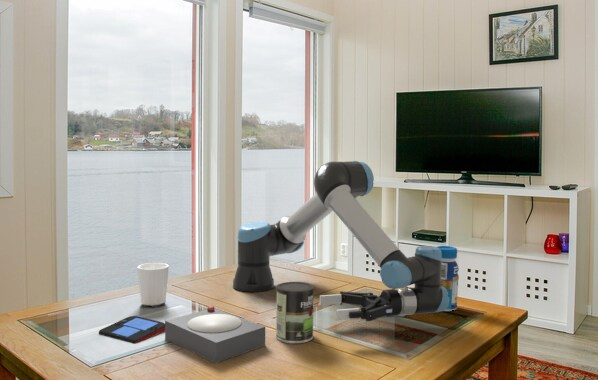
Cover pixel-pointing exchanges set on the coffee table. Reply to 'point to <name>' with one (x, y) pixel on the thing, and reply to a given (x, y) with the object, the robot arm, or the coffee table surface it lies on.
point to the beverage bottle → (449, 274)
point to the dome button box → (215, 334)
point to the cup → (153, 283)
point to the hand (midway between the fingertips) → (327, 307)
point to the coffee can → (294, 312)
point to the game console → (133, 329)
